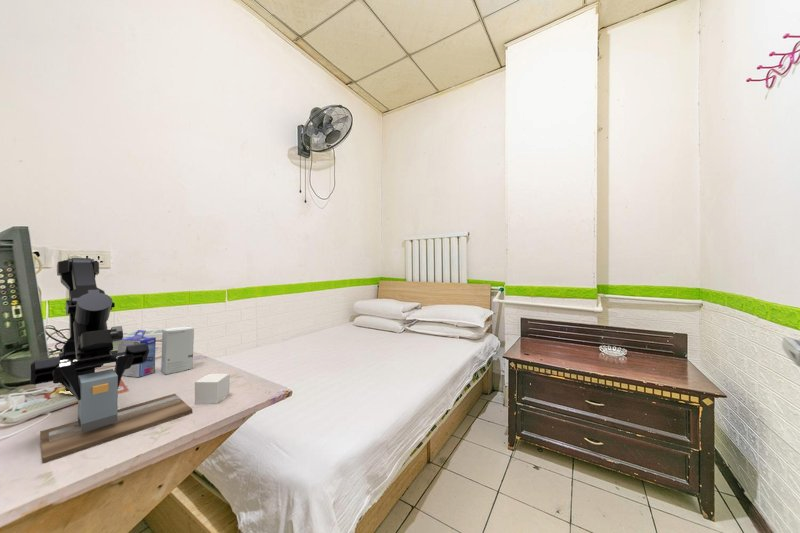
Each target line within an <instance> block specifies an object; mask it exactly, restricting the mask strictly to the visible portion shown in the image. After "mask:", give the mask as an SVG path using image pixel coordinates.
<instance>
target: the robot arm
mask: <svg viewBox="0 0 800 533" xmlns="http://www.w3.org/2000/svg"><path fill="white" fill-rule="evenodd" d="M99 274H100V262H99V261H98V260H97V261H96V260H95V259H93V258H89V257H72V258H68V259H64V260H60V261H57V265H56V275H57V276H60V284H62V285H63V287H65V288H66V289H67V290H68V300H65V315H68V317H69V318H68V319H69V320H68V321H69V338H68V340H67V341H66V342H65V343H64V345H63V347H62V348H61V351H62V352H59V353H58V356H54V357H53V356H52V357H48V358H41V359H34V361H32V362H30V369H29V370H30V376H29V377H30V385H35V386H36V385H41V384H45V383H50V382H52V383H53V384H55V385H56V384H61V385H62V386H64V389H65V390H66V391H70V392H71V393H72V394H73V395H72V396H74V397H75V398H76V400H77V401H78V400H80V399H81V393H80V386H79V383H78V376H79V375H84V374H89V373H94V372H96V371H95V370H96V369H97V368H102V366H104V364H112V363H115V364H114V365H115V366H114V369H113V370H114V372H115V373H116V374H117V375H118V388H119V386H120V383H121V379H122V377H123V376H124V375H123V373H124V371H125V369H129V368H130V367H131V365H136V364H141V363H144V362H146V359H147V356H148V353H149V347H148V345H147V344H145V343H141V344H135V345H128V346H127V347H126V350H125V352H120V353H118V352H117V353H116V352H115V353H112V351H113V350H114V344H113V342H118V341H120V340H122V338H124V332H123V331H124V329H123V326H122V325H119V326H118V325H117V326H111V328H110V329H108V323H107V322H108V321H109V318H110V315H111V311H112V310H113V308H115V306H116V305H115V302H113V298H112V297H111V296H110V295H108V294H106V293H105V290H103V289H101V288H98V286H97V283H96V281H97V280H96V276H98V275H99Z"/></svg>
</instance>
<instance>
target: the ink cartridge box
mask: <svg viewBox="0 0 800 533" xmlns="http://www.w3.org/2000/svg"><path fill="white" fill-rule="evenodd" d="M146 332H147V330H144V329H143V330H142V329H138V330H136V332H135V334H134V335H133V336H132V335H131V336H128V337H127V336H126V337H123V338H122V340H120V341H117V353H120V352H125V350H126V347H127V346H128V345H135V344H141V343H145V344H147V345H148V347H149V353H148V356H147V359H146V362H144V363H141V364H136V365H131V367H130V368H129V369H125V371H124V373H123V375H122V376H124V377H135V378H141V377H143V376H147V375H149V374H150V375H151V374H154V373H155V372H156V339H157V338H156V337H154V336H152V337H151V336H144V335H145V334H146ZM140 333H141V334H140Z"/></svg>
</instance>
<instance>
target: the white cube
mask: <svg viewBox="0 0 800 533" xmlns="http://www.w3.org/2000/svg"><path fill="white" fill-rule="evenodd" d="M230 377H231V376H230V373H208V374H206V375H205V376H203V377H201V378H199V379H198V380H196V381H194V404H195V405H216V404H219V403H221V401H223V400H224V399H225V398H227V397H228V396H229V395H230V381H231V380H230ZM228 394H229V395H228ZM227 395H228V396H227ZM224 397H225V398H224ZM223 398H224V399H223ZM222 399H223V400H222ZM218 402H219V403H218Z"/></svg>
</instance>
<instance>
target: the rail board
mask: <svg viewBox="0 0 800 533" xmlns="http://www.w3.org/2000/svg"><path fill="white" fill-rule="evenodd" d="M190 414H193V408H192V407H191V406H190V405H188V403H186V402H185V401H184V400H183V399H182V398H181V397H180V396H179V395H177V393H172V394H168V395H164V396H161V397H158V398H154V399H151V400H146V401H144V402H140V403H139V402H138V403H137V404H134V405H133V404H132V405H129V406H126V407H122V408H119V409H118V415H117V422H116V423H112V424H109V425H106V426H102V427H99V428H96V429H93V430H89V431H86V432H83V433H81V423H79V424H78V420H75V421H72V422H69V423H65V424H62V425H59V426H54V427H51V428H47V429H43V430H40V432H39V435H40V436H39V438H40V448H41V450H40V451H41V461H42V464H44V463H47V462H51V461H54V460H57V459H60V458H63V457H66V456H69V455H71V454H75V453H77V452H80V451H83V450H86V449H89V448H93V447H96V446H99V445H102V444H104V443H107V442H111V441H113V440H116V439H119V438H122V437H125V436H128V435H131V434H134V433H137V432H140V431H143V430H146V429H149V428H152V427H155V426H158V425H161V424H163V423H166V422H170V421H172V420H175V419H179V418H182V417H185V416H187V415H190Z"/></svg>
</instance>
